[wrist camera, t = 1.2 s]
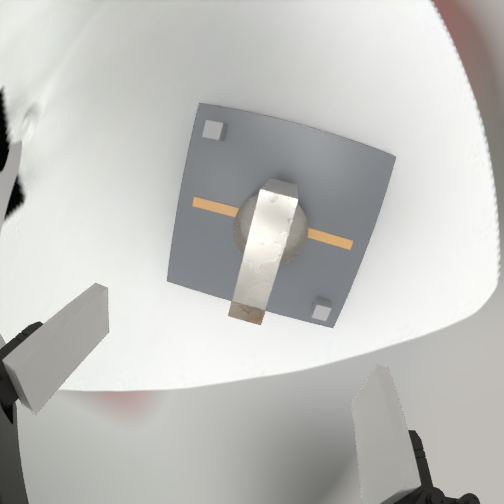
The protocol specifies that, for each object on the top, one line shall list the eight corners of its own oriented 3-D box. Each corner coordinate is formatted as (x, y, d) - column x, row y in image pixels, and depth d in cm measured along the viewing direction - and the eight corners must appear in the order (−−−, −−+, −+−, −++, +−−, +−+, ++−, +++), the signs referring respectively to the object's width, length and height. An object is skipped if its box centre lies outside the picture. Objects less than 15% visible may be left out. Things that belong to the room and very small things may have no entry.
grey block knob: (248, 169, 31) (225, 180, 21) (320, 189, 30) (332, 209, 20) (227, 260, 35) (199, 307, 25) (292, 279, 34) (289, 332, 24)
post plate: (202, 104, 32) (193, 100, 29) (392, 156, 31) (401, 157, 28) (169, 277, 41) (161, 287, 38) (332, 323, 40) (334, 336, 37)
